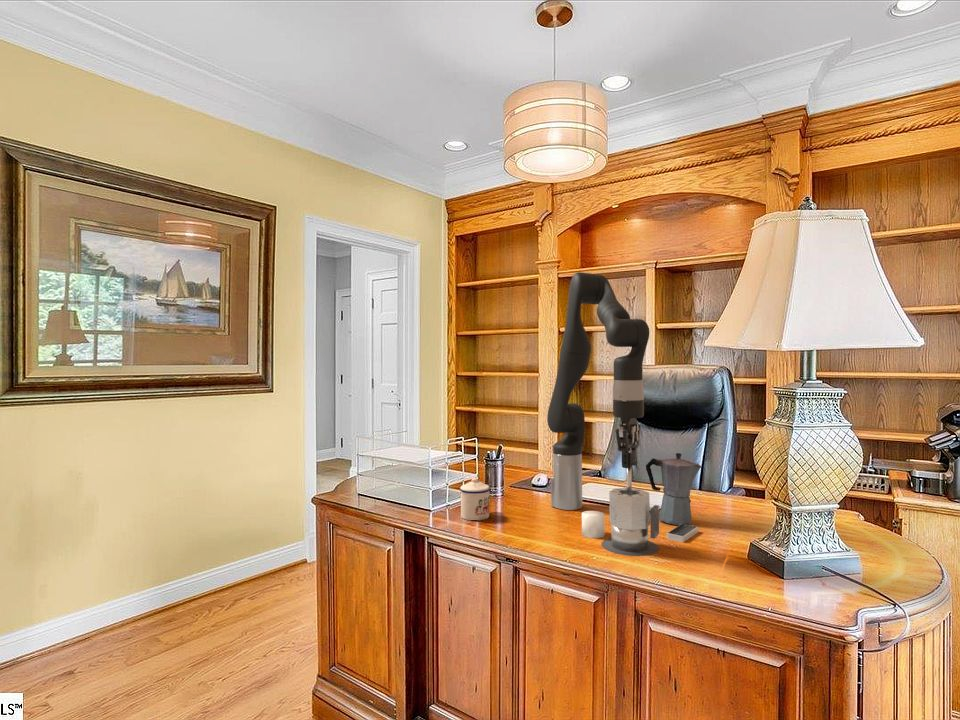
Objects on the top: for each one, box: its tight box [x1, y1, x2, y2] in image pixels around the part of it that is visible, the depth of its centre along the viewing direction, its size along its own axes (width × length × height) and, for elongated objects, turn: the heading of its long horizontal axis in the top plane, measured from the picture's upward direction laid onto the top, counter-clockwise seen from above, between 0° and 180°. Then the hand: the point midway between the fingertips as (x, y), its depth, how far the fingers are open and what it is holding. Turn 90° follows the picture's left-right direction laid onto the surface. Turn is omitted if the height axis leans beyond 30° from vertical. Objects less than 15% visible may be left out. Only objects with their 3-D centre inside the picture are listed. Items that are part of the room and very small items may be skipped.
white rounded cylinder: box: [581, 510, 606, 539], centre depth 145 cm, size 6×6×6 cm
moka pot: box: [645, 452, 703, 526], centre depth 157 cm, size 10×15×20 cm, turn 78°
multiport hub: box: [666, 524, 699, 543], centre depth 144 cm, size 4×11×2 cm, turn 139°
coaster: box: [600, 537, 660, 557], centre depth 136 cm, size 14×14×1 cm
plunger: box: [623, 443, 639, 495], centre depth 136 cm, size 5×5×14 cm
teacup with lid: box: [459, 477, 491, 521], centre depth 165 cm, size 12×9×12 cm
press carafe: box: [608, 487, 660, 552], centre depth 135 cm, size 11×9×14 cm
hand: (628, 466), depth 136 cm, fingers closed on plunger, 3 cm apart
